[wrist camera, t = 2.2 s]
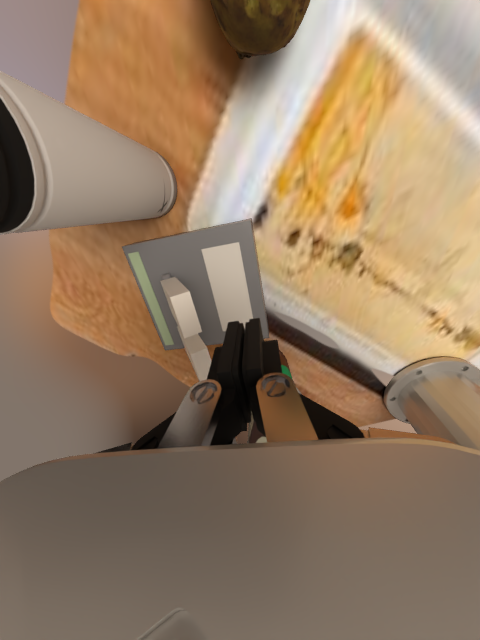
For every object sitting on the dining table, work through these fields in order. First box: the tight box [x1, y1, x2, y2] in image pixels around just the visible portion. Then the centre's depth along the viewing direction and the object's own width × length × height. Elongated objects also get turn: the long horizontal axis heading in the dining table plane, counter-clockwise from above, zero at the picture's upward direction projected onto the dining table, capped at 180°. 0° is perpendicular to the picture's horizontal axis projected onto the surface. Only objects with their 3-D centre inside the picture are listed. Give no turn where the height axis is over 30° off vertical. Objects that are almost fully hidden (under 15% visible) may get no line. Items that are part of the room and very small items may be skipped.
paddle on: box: [160, 273, 202, 338], centre depth 22 cm, size 2×4×8 cm, turn 11°
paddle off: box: [177, 326, 211, 382], centre depth 24 cm, size 2×4×8 cm, turn 11°
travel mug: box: [0, 71, 177, 234], centre depth 14 cm, size 6×7×20 cm
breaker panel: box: [122, 218, 269, 350], centre depth 27 cm, size 14×14×3 cm
